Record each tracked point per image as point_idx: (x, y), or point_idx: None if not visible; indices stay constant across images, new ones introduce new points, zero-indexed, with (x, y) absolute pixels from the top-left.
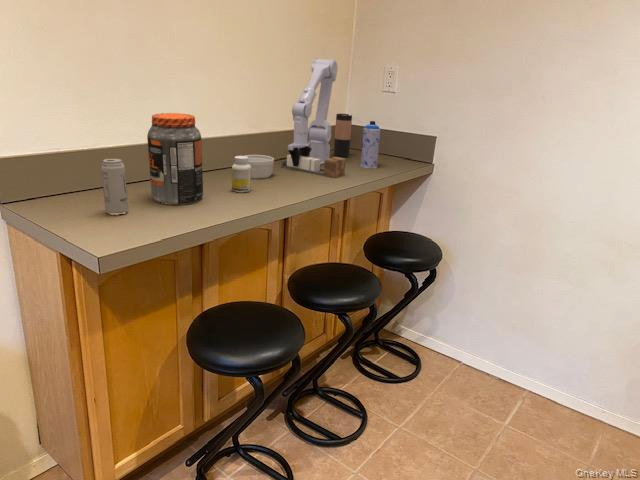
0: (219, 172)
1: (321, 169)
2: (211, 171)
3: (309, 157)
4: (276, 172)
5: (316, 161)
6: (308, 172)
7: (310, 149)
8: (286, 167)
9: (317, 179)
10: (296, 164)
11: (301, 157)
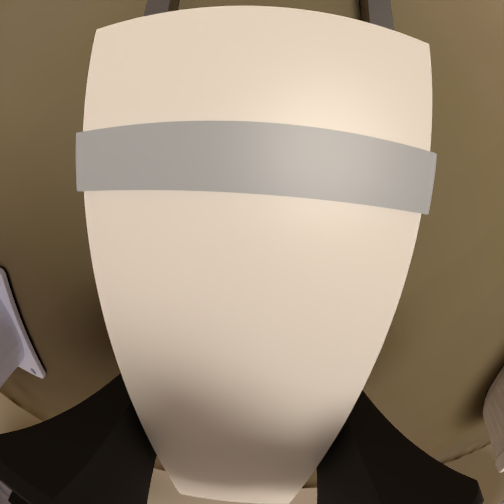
0: None
1: None
2: (481, 446)
3: (150, 353)
4: (472, 362)
5: (315, 29)
6: None
7: (12, 466)
8: None
9: (497, 18)
10: None
11: (290, 435)
